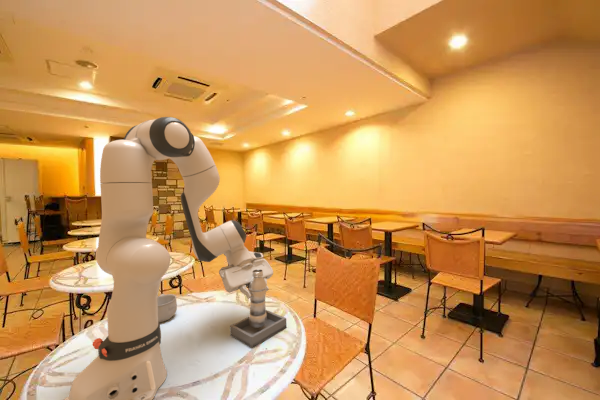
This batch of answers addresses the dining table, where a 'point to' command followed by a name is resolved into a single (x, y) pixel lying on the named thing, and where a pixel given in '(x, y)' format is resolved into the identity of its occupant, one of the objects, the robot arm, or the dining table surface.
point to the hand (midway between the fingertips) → (259, 293)
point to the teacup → (166, 306)
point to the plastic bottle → (257, 300)
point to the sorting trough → (257, 330)
